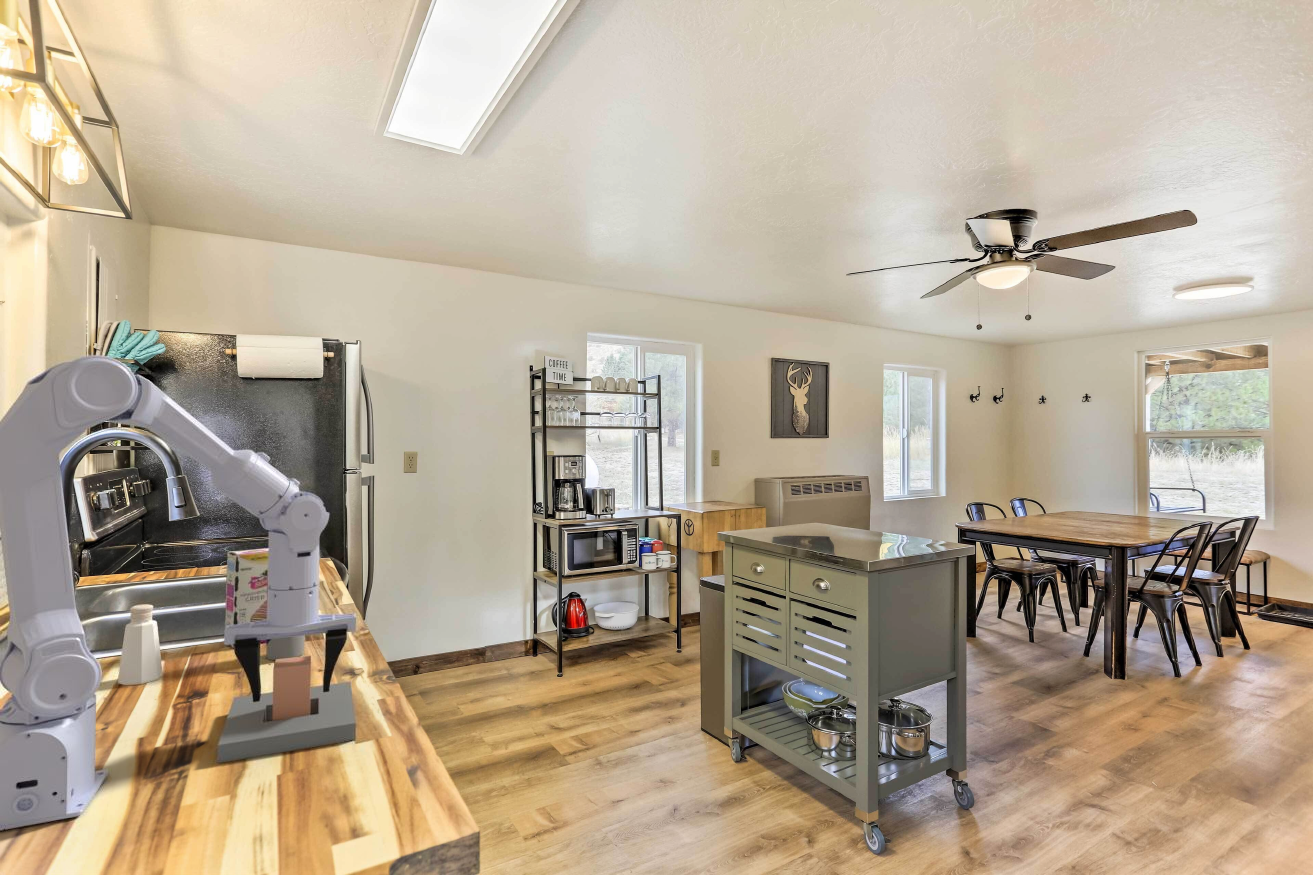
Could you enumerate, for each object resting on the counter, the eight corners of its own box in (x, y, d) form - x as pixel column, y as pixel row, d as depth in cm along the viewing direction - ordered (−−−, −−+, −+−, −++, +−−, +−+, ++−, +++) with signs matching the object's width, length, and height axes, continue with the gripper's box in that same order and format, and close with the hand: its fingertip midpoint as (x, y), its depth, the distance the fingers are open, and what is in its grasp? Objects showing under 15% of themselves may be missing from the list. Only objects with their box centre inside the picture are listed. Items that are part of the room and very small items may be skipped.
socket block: (355, 739, 82) (355, 722, 82) (217, 763, 75) (217, 744, 75) (350, 695, 96) (350, 681, 96) (233, 712, 90) (234, 697, 90)
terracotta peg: (309, 728, 85) (310, 664, 85) (272, 734, 83) (273, 668, 83) (310, 717, 88) (310, 655, 88) (274, 722, 87) (275, 659, 87)
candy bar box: (234, 649, 117) (235, 554, 118) (223, 644, 121) (224, 551, 121) (301, 636, 126) (302, 547, 126) (289, 631, 129) (291, 544, 129)
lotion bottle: (267, 652, 116) (269, 534, 116) (305, 648, 118) (306, 533, 118) (264, 662, 111) (266, 539, 111) (303, 658, 113) (305, 537, 113)
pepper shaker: (171, 674, 105) (172, 602, 105) (141, 686, 99) (143, 610, 100) (139, 672, 105) (140, 601, 105) (107, 684, 100) (109, 609, 100)
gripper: (354, 575, 93) (353, 676, 92) (229, 584, 86) (228, 692, 86) (357, 585, 86) (356, 693, 86) (222, 595, 80) (221, 712, 80)
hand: (292, 694), depth 86 cm, fingers open, 7 cm apart
